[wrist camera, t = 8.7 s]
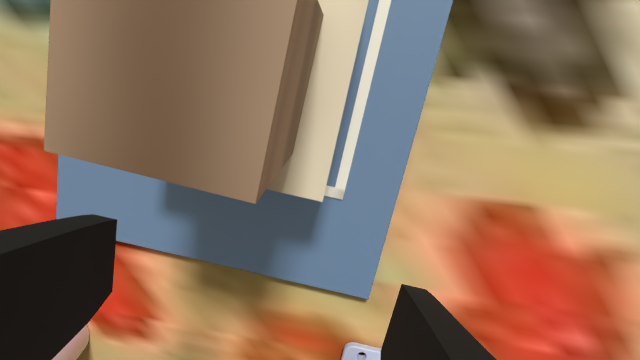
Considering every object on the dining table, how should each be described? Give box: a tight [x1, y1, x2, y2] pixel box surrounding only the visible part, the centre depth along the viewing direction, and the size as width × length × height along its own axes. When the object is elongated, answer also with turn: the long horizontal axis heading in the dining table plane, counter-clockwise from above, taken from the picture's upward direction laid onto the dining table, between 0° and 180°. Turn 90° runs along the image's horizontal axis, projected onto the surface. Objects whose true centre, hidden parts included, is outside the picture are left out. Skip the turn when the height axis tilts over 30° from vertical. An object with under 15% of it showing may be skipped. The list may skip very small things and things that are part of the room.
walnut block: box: [44, 0, 324, 204], centre depth 11 cm, size 5×5×6 cm
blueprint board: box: [56, 0, 453, 299], centre depth 19 cm, size 17×16×1 cm
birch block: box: [267, 0, 369, 202], centre depth 16 cm, size 8×8×4 cm
